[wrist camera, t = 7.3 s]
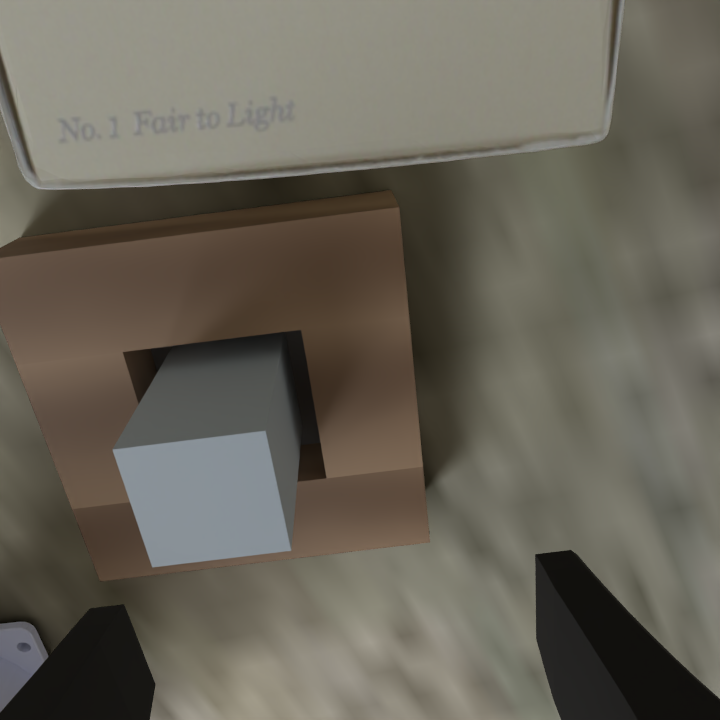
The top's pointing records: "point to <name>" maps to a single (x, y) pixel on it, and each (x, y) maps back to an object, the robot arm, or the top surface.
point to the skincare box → (296, 85)
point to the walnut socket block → (217, 322)
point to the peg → (215, 452)
